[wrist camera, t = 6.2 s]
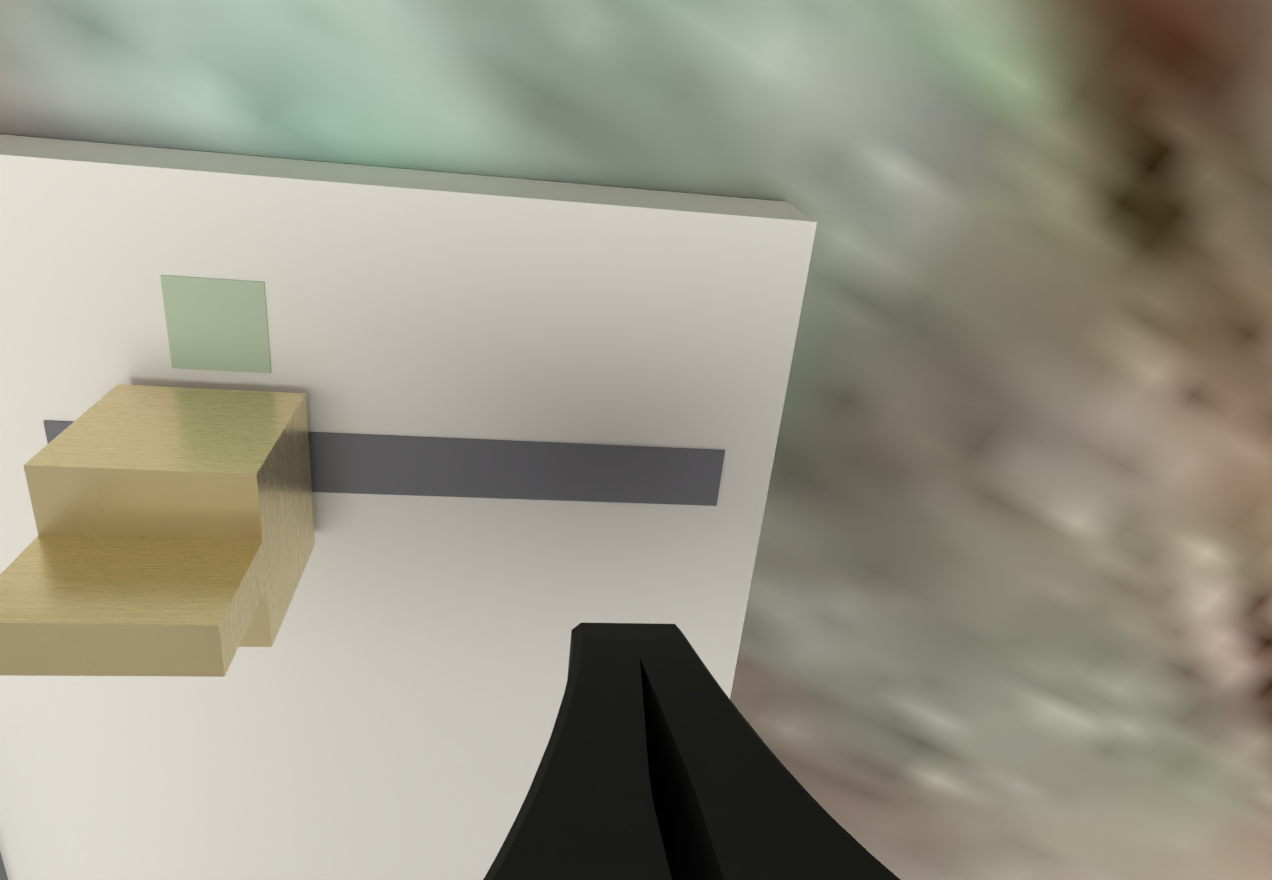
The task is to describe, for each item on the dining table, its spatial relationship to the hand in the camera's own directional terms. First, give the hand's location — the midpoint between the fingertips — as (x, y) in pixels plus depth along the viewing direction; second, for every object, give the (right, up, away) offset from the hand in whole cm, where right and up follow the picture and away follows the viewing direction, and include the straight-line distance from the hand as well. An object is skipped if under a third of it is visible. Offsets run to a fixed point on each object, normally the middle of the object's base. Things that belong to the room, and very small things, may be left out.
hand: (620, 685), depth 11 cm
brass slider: (-7, +3, +4) cm, 9 cm away
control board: (-10, 0, +8) cm, 12 cm away
